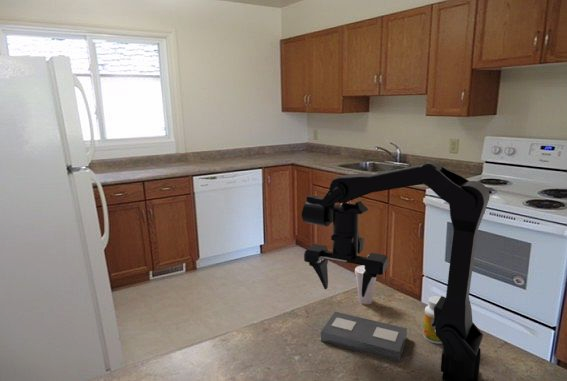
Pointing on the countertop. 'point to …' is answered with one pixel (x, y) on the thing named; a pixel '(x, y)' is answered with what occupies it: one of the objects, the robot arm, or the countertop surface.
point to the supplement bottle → (430, 321)
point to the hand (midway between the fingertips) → (344, 292)
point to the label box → (365, 336)
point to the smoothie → (359, 276)
